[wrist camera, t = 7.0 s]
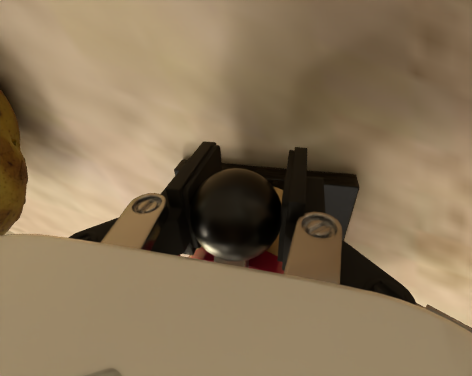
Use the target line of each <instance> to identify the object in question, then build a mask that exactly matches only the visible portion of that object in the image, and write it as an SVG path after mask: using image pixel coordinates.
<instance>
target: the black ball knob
mask: <svg viewBox="0 0 472 376" xmlns="http://www.w3.org/2000/svg"><path fill="white" fill-rule="evenodd" d="M280 216H281V201H280V198H279V196H278V194H277V192H276V190H275V189H274V187H273V186H272V185H271V184H270V182H269V181H268V180H266V179H265V178H264V177H262V176H261V175H259V174H257V173H255V172H253V171H250V170H247V169H241V168H233V169H226V170H222V171H219V172H217V173H215V174H213V175H212V176H210V177H209V178H207V179H206V180H205V181H204V182H203V183H202V184H201V185H200V187H199V188H198V189H197V191H196V193H195V195H194V197H193V200H192V203H191V207H190V223H191V227H192V230H193V233H194V235H195V237H196V239H197V240H198V242H199V243H200V245H201V246H202V247H203V248H204V249H205V250H206V251H207V252H209V253H210V254H212V255H213V256H214V262H217V263H223V264H229V265H234V266H240V267H246V268H249V260H250V259H253V258H255V257H257V256H259V255H261V254H262V253H264V252H265V251H266V250H267V249H269V248H270V246H271V245H272V244H273V243H274V241H275V240H276V238H277V236H278V234H279V231H280Z"/></svg>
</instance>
